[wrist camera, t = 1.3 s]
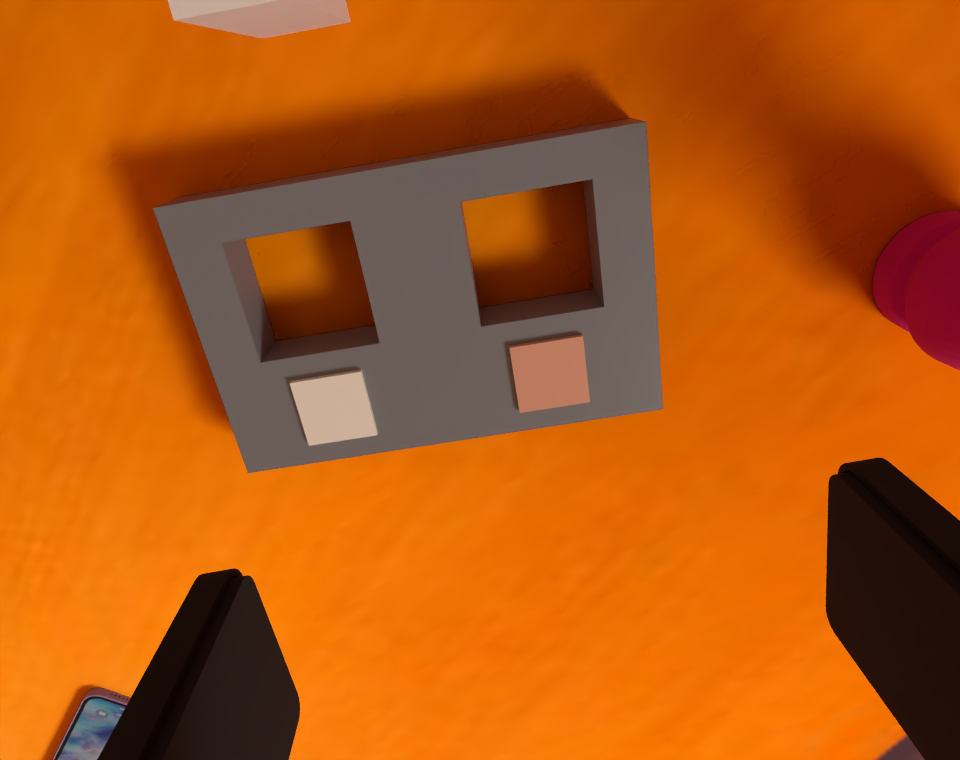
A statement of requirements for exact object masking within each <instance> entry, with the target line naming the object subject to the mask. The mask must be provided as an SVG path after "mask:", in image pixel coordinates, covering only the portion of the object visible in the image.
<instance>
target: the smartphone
mask: <svg viewBox="0 0 960 760" xmlns="http://www.w3.org/2000/svg"><path fill="white" fill-rule="evenodd" d="M130 699H131V698H129V697H127V696H124V695H121V694H118V693H116V692H113V691H110V690H107V689H104V688H93V689H91V690H89V691H88V692H87V693H86V695H85V697H84V698H83V700H82V702H81V704H80V706H79V708H78V710H77V712H76V714H75V716H74V718H73V720H72V722H71V724H70V726H69V728H68V730H67V731H66V733H65V735H64V737H63V739H62V741H61V743H60V745H59V747H58V749H57V751H56V753H55V755H54V757H53V759H52V760H97V759H98V757H99V755H100V753H101V752H102V750H103V748H104V746H105V744H106V743H107V741H108V739H109V737H110V735H111V733H112V732H113V730H114V728H115V726H116V724H117V722H118V721H119V719H120V717H121V715H122V713H123V711H124V710H125V708H126V706H127V704H128V702H129V700H130Z"/></svg>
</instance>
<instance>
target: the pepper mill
mask: <svg viewBox="0 0 960 760" xmlns="http://www.w3.org/2000/svg"><path fill="white" fill-rule="evenodd" d="M873 296H874V300H875V303H876V304H877V306H878V308H879V310H880V312H881V313H882V314H883V315H884V316H885V317H886V318H887V319H888V320H890V321H891V322H892V323H894V324H896V325H898V326H900V327H901V328H903V329H905V330H907V331H909V332H910V334H911V335H912V337H913V339H914V341H915V342H916V343H917V344H918V346H919V347H920V348H921V349H922V350H923V351H924V352H925V353H927V354H928V355H929V356H931V357H933V358H934V359H936V360H938V361H940V362H942V363H944V364H947V365H949V366H951V367H953V368H956V369H958V370H960V211H941V212H937V213H933V214H929V215H927V216H924V217H922V218H919V219H917V220H915V221H914V222H912V223H911V224H909V225H908V226H906V227H905V228H903V229H902V230H900V231H899V232H898V233H897V234H896V235H895V236H894V237H893V239H892V240H891V241H890V242H889V243H888V244H887V246H886V247H885V249H884V251H883V252H882V254H881V256H880V257H879V259H878V261H877V264H876V268H875V271H874V275H873Z"/></svg>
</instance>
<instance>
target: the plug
mask: <svg viewBox="0 0 960 760" xmlns="http://www.w3.org/2000/svg"><path fill="white" fill-rule="evenodd" d="M168 3H169V6H170V9H171V13H172V16H173V19H174V20H175V21H180V22H185V23H190V24H194V25H199V26H204V27H209V28H214V29H219V30H224V31H229V32H233V33H238V34H243V35H248V36H253V37H258V38H269V37H274V36H279V35H285V34H290V33H295V32H301V31H306V30H312V29H317V28H322V27H328V26H333V25H338V24H344V23H349V22H350V17H349V13H348V8H347V4H346V0H168Z"/></svg>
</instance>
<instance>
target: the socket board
mask: <svg viewBox="0 0 960 760" xmlns="http://www.w3.org/2000/svg"><path fill="white" fill-rule="evenodd" d="M579 181H583V187H584V198H585V208H586V218H587V228H588V238H589V249H590V259H591V269H592V279H593V289H591V290H585V291H579V292H573V293H567V294H560V295H554V296H548V297H542V298H536V299H530V300H524V301H518V302H512V303H505V304H499V305H493V306H487V307H481V308H480V306H479V300H478V294H477V289H476V283H475V277H474V271H473V265H472V260H471V254H470V248H469V242H468V236H467V231H466V225H465V219H464V213H463V207H462V202H463V201H469V200H474V199H480V198H486V197H492V196H498V195H504V194H509V193H515V192H521V191H527V190H533V189H538V188H544V187H550V186H556V185H562V184H568V183H573V182H579ZM153 210H154V213H155V215H156V218H157V221H158V224H159V226H160V229H161V232H162V235H163V238H164V240H165V243H166V246H167V249H168V251H169V254H170V257H171V260H172V263H173V265H174V268H175V271H176V274H177V277H178V279H179V282H180V285H181V288H182V290H183V293H184V296H185V299H186V302H187V304H188V307H189V310H190V313H191V316H192V318H193V321H194V324H195V327H196V329H197V332H198V335H199V338H200V341H201V343H202V346H203V349H204V352H205V355H206V357H207V360H208V363H209V366H210V368H211V371H212V374H213V377H214V380H215V382H216V385H217V388H218V391H219V393H220V396H221V399H222V402H223V405H224V407H225V410H226V413H227V416H228V419H229V421H230V424H231V427H232V430H233V432H234V435H235V438H236V441H237V444H238V446H239V449H240V452H241V455H242V458H243V460H244V463H245V466H246V469H247V471H248V473H252V472H258V471H265V470H271V469H278V468H284V467H291V466H297V465H304V464H310V463H317V462H323V461H330V460H336V459H343V458H349V457H356V456H362V455H368V454H375V453H381V452H388V451H394V450H401V449H407V448H414V447H420V446H427V445H433V444H440V443H446V442H453V441H459V440H466V439H472V438H479V437H485V436H492V435H498V434H505V433H511V432H518V431H524V430H531V429H537V428H544V427H550V426H557V425H563V424H570V423H576V422H583V421H589V420H596V419H602V418H609V417H615V416H622V415H628V414H634V413H641V412H647V411H654V410H660V409H663V402H662V385H661V368H660V351H659V334H658V317H657V300H656V282H655V265H654V248H653V231H652V214H651V197H650V180H649V162H648V145H647V128H646V122H645V121H641V120H636V119H632V118H628V119H623V120H617V121H611V122H606V123H600V124H594V125H588V126H583V127H577V128H571V129H566V130H560V131H554V132H549V133H543V134H537V135H531V136H526V137H520V138H514V139H509V140H503V141H497V142H492V143H486V144H480V145H474V146H469V147H463V148H457V149H452V150H446V151H440V152H435V153H429V154H423V155H417V156H412V157H406V158H400V159H395V160H389V161H383V162H378V163H372V164H366V165H361V166H355V167H349V168H343V169H338V170H332V171H326V172H321V173H315V174H309V175H304V176H298V177H292V178H286V179H281V180H275V181H269V182H264V183H258V184H252V185H247V186H241V187H235V188H229V189H224V190H218V191H212V192H207V193H201V194H195V195H190V196H184V197H179V198H176V199H174V200H171V201H169V202H167V203H164V204H162V205H159V206H157V207H154V208H153ZM346 221H350V222H351V226H352V230H353V234H354V239H355V243H356V247H357V251H358V255H359V259H360V263H361V267H362V272H363V276H364V280H365V284H366V288H367V292H368V296H369V301H370V305H371V309H372V313H373V317H374V321H375V325H371V326H365V327H359V328H353V329H347V330H340V331H334V332H328V333H322V334H316V335H310V336H304V337H298V338H292V339H285V340H279V341H276V339H275V336H274V332H273V329H272V326H271V323H270V320H269V316H268V313H267V310H266V307H265V303H264V300H263V297H262V294H261V290H260V287H259V284H258V281H257V278H256V274H255V271H254V268H253V265H252V261H251V258H250V255H249V252H248V249H247V245H246V242H245V239H247V238H253V237H259V236H265V235H270V234H276V233H282V232H288V231H294V230H300V229H305V228H311V227H317V226H323V225H329V224H334V223H340V222H346Z"/></svg>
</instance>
